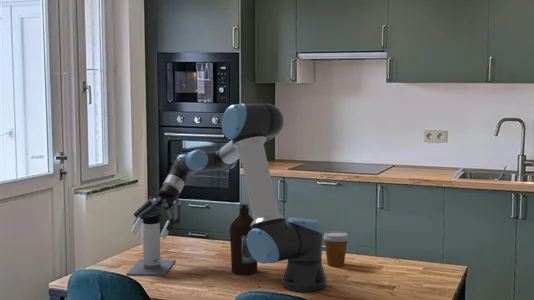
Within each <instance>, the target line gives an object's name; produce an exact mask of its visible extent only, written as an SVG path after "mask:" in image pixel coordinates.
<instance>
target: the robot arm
mask: <svg viewBox="0 0 534 300" xmlns="http://www.w3.org/2000/svg"><path fill="white" fill-rule="evenodd" d="M283 127H284V115H283V113H282V112H281V109H280V108H278V107H277V106H275V105H273V104H271V103H266V102H265V103H238V104H236V103H235V104H231V105H229V106H228V107H227V108H226V110H225V111H224V113H223V116H222V120H221V130H222V133H223V135H224V136H225V138H226V139H228V140H230V141H229V142H227V143H226V144H225V145H223V146H222V147H221V148H219V149H218V150H214V151H213V150H212V151H204V150H201V149H195V150H192V151H190V152H189V153H188V154H185V153H183V154H179V155H178V156H177V158H176V159H175V160H174V161H173V165H172V166H171V168H170V170H169V172H168V174H167V176H166V178H165V180H164V181H163V184H162V186H161V188H160V189H159V192H158V195H157V197H156V198H155V197H153V196H150V197H149V198H148V199H147V201H145V202H144V204H143V205H141V206H140V207H139V208H138V209H137V210H136V211H135V212H134V213H133V216H134V217H135V220H134V222H133V226H132V228H131V230H130V233H131V234H132V235H133V236H137V233H138V232H139V230H140V228H141V226H142V225H143V217H144V216H145V215H149V214H154V212H158V211H166V213H167V215H168V220H167V221H166V222H165V225H164V226H163V228H162V230H161V231H160V238H162V240H166V239H167V237H168V234H169V233H170V231H172V229H173V227H174V225H176V224H180V223H181V207H182V202H181V201H180V200H179V196H180V194H181V193H182V190H183V189H184V186H185V184H186V182H187V181H188V178H189V177H191V176H192V175H195V174H196V173H200V172H212V171H227V170H230V169H234V168H235V167H236V164H237V163H238V160H239V159H240V162H241V166H242V172H243V176H244V179H245V181H244V182H245V184H246V189H247V193H248V199H249V202H250V208H251V213H252V216H253V222H252V224H251V231H250V232H249V233H248V235H247V237H248V238H247V246H248V250H249V252H250V254H251V255H252V257H253V258H254V259H256V261H257V263H259V264H275V263H279V262H282V261H286V260H287V263H286V267H285V270H284V273H283V276H282V278H281V279H282V282H281V283H282V284H281V285H282V287H283V288H285V289H286V290H289V291H294V292H303V293H304V292H305V293H306V292H307V293H308V292H309V293H310V292H316V291H322V290H324V289H326V288H327V285H328V284H327V283H328V281H327V280H328V279H327V275H326V271H325V270H324V267H323V264H322V262H323V261H322V256H323V250H322V249H323V229H322V228H323V227H322V223H321V222H320V221H319V220H317V219H314V218H306V217H299V216H297V217H296V216H293V217H289V218H288V219H287V221H286V218H285V216H283V215H282V214H281V213H280V211H279V207H278V202H277V198H276V195H275V194H276V193H275V190H274V185H273V181H272V175H271V171H270V167H269V163H268V158H267V153H266V150H265V145H264V144H265V142H269V141H271V140H273V139H274V138H275V137H277V136H278V135H279V134H280V133H281V131H282V130H283ZM173 206H174V210H172V207H173ZM173 212H174V214H173Z"/></svg>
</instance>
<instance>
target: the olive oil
mask: <svg viewBox="0 0 534 300" xmlns="http://www.w3.org/2000/svg"><path fill="white" fill-rule="evenodd" d="M249 212H250V208H249V204H248V203H240V204H239V214H238V215H237V217H236V218H235V219H234V220H233V221H232V222H231V224H230V227H229V239H230V258H231V259H230V260H231V263H230V265H231V272H232V273H233V274H236V275H240V276H245V275H246V276H247V275H249V276H250V275H253V274H256V273H257V272H258V261H256V259H254V258H253V257H252V255H251V254H250V252H249V250H248V246H247V238H248V237H247V235H248V233H249V232H250V231H251V224H252V222H253V220H254V218H252V216H251V215H250V213H249Z"/></svg>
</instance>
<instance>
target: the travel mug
mask: <svg viewBox="0 0 534 300" xmlns="http://www.w3.org/2000/svg"><path fill="white" fill-rule="evenodd" d="M160 217H161V213H151V214H149V215H145V216H144V217H143V219H142V220H143V222H142V243H143V244H142V245H143V247H142V249H143V250H142V252H143V253H142V254H143V258H142V259H144V267H145V268H158V267H160V266H161V262H160V261H161V236H160V234H161V221H160Z"/></svg>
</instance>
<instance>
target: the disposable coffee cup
mask: <svg viewBox="0 0 534 300" xmlns="http://www.w3.org/2000/svg"><path fill="white" fill-rule="evenodd" d="M322 239H323V240H324V246H325V256H326V264H327V266H329V267H334V268H339V267H341V268H342V267H344V266H345V260H346V254H347V253H346V251H347V245H348V240H349V236H348V233H347V232H344V231H337V230H336V231H326V232H324V235H323V236H322Z"/></svg>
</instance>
